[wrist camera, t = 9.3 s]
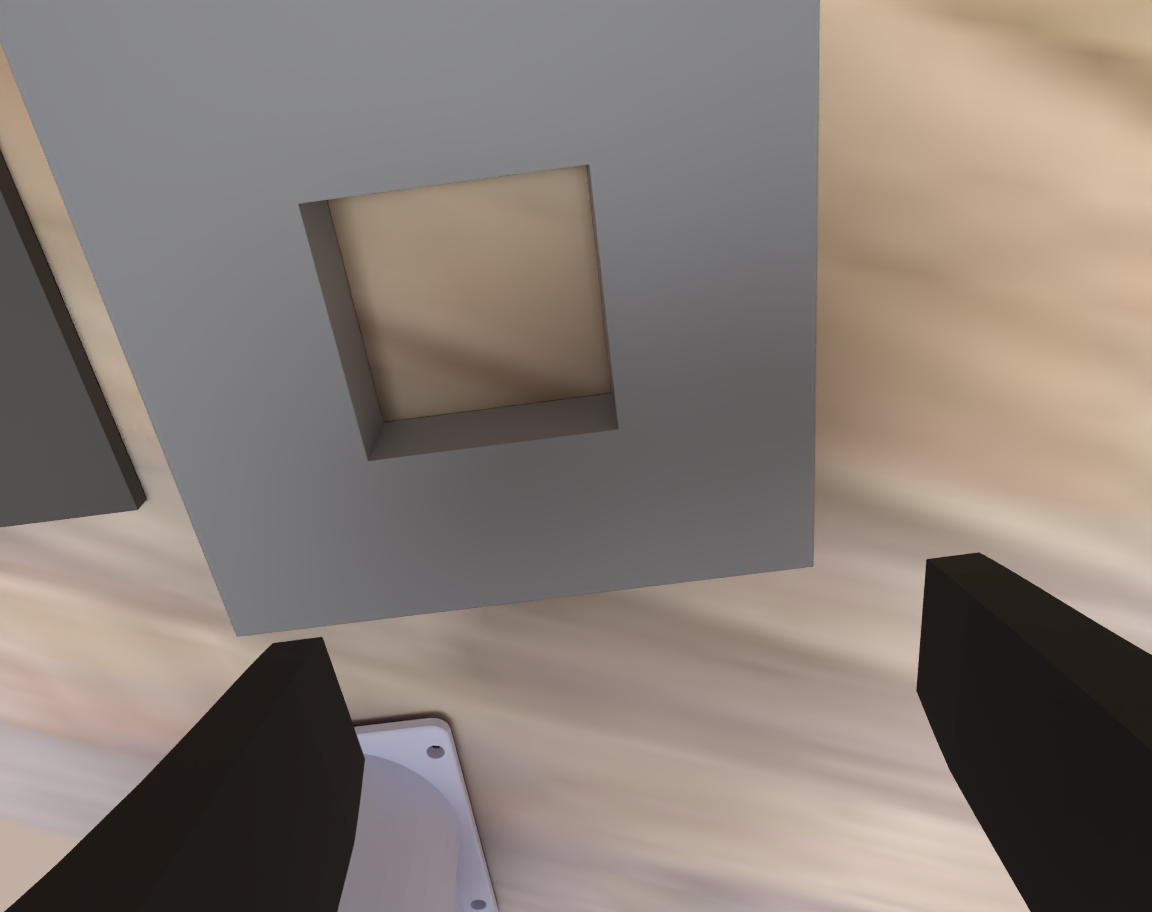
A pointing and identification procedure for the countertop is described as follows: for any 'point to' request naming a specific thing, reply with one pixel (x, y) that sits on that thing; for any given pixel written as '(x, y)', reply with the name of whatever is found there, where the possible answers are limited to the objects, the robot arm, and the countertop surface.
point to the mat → (49, 395)
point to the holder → (326, 312)
